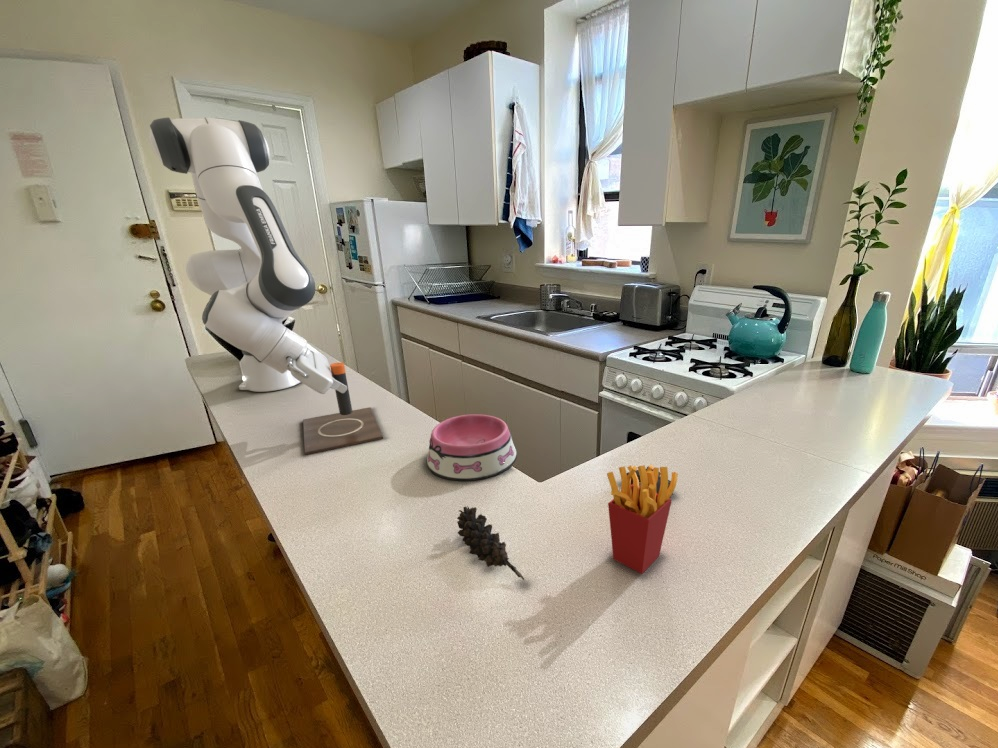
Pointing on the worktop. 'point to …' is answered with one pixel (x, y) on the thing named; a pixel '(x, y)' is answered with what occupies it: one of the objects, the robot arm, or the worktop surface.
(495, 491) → the worktop surface
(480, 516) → the pine cone
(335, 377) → the marker
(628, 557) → the french fries
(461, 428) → the dog bowl
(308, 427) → the drawing board
